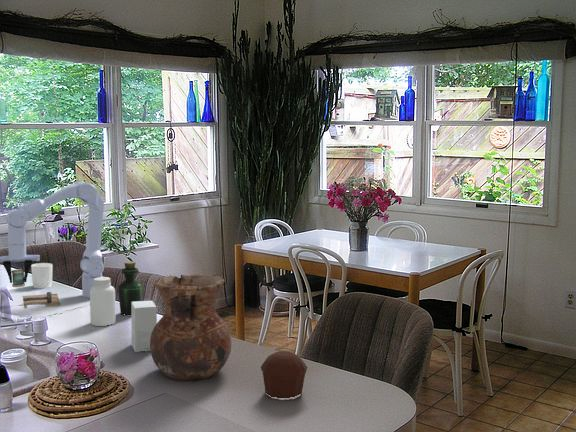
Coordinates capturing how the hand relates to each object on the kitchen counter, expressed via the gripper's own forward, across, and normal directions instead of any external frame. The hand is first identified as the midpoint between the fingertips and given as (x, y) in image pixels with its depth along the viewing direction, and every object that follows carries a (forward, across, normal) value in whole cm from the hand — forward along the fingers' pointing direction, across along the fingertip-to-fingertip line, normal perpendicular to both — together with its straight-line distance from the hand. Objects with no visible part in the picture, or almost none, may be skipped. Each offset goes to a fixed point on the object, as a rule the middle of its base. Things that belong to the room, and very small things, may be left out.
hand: (18, 282), depth 237 cm
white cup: (+10, -9, -26) cm, 29 cm away
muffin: (+9, -59, +105) cm, 121 cm away
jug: (+9, -41, +83) cm, 93 cm away
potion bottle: (+9, -36, +20) cm, 42 cm away
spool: (+1, 0, 0) cm, 1 cm away
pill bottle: (+9, -25, +30) cm, 40 cm away
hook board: (+9, -8, -2) cm, 12 cm away
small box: (+10, -33, +59) cm, 68 cm away
